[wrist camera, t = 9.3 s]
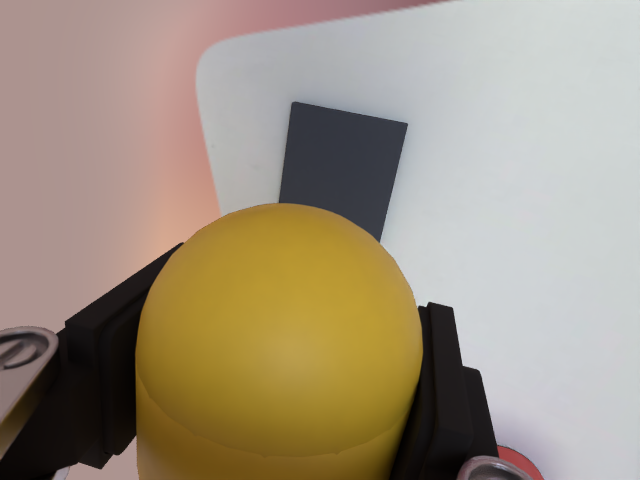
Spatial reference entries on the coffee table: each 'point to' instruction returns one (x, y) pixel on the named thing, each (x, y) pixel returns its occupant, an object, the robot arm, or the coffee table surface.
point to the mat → (342, 163)
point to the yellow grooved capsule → (276, 352)
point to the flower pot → (519, 462)
